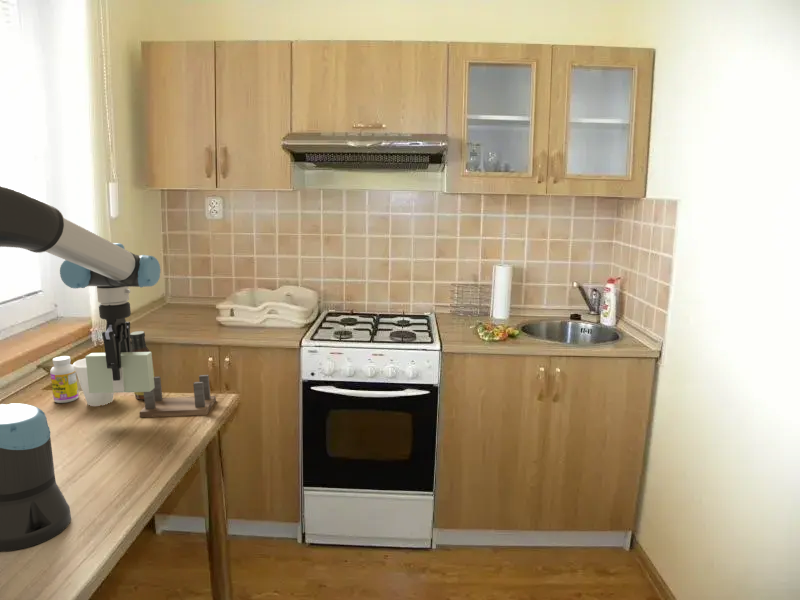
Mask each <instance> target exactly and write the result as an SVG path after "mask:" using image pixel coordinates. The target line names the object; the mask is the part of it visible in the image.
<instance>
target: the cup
mask: <svg viewBox="0 0 800 600" xmlns="http://www.w3.org/2000/svg"><path fill="white" fill-rule="evenodd" d="M72 365H73V366H74V369H75V372H76V378H77V381H78V382H79V385H80V388H81V390H82V393H83V396H84V398H85V401H86V403H87V406H89V405H90V407H100V405H102V406H106V405H108V403H109V404H110V402H111V403H112V402H113V401H114V395H115V394H114V393H115V392H111V393H89V385H88V376H87V366H86V357H84V358H82V359H81V358H80V359H78V360H76V361H74V362H73V364H72ZM105 404H106V405H105Z"/></svg>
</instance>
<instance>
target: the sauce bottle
mask: <svg viewBox="0 0 800 600" xmlns="http://www.w3.org/2000/svg"><path fill="white" fill-rule="evenodd" d="M145 337H146V333H145V331H143V330H139V331H138V330H137V331H132V332H130V340H131V352H151V351H150V350H149V348H148V347H147V345H146V344H147V343H146V338H145ZM152 363H153V364H154V362H153V361H152ZM153 374H154V377H156V376H155V370H154V368H153ZM133 393H134V395H135V399H137V400H142V401H143V400H144V392H133ZM144 401H145V400H144Z"/></svg>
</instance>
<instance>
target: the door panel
mask: <svg viewBox="0 0 800 600" xmlns="http://www.w3.org/2000/svg"><path fill="white" fill-rule="evenodd" d="M85 358H86V366H87V376H88V385H89V393H111V392H113V382H112V372H111V368H109V369H108V368H107V363H106V355H105V352H91V353H88V354H87V355H85ZM152 362H153V352H152V351H150V352H121V367H123V376H124V387H125V391H124V392H123V393H134V392H150V391H151V390H153V389H154V388H155V386H154V376H155V373H154V374H153V369H154V362H153V363H152Z"/></svg>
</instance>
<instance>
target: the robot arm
mask: <svg viewBox="0 0 800 600" xmlns="http://www.w3.org/2000/svg"><path fill="white" fill-rule="evenodd" d="M3 247H5V248H17V249H23V250H26V251H30V252H32V253H38V254H42V253H45V252H46V253H48V254H50V255H53V256H55V257H56V258H57V257H58V258H59V259H62V260H64V261H62V263H61V265H60V267H59V276H60V278H61V281H62V282H63V284H64V285H66V287H69V288H70V289H85V288H86V287H96V293H97V295H96V296H97V302H98V303H99V305H98V313H99V314H98V315H99V318H100V319H101V320H106V324H105V325H106V327H105V331H102V332H101V336H102V339H103V344H104V345H103V346H104V353H105V355H106V363H107V368H108V369H109V368H111V372H112V382H113V392H114V393H125V392H124V391H125V387H124V376H123V367H121V352H131V350H132V342H131V338H130V333H131V321H127V320H126V319H127V318H129V317H131V315H132V311H131V310H132V309H131V304H130V302H129V300H130V294H131V289H129V287H130V288H131V287H133V288H136V287H137V288H138V287H139V288H144V287H147V288H149V287H153V286H155V285H156V284H157V283H158V282H159V280H160V278H161V265H160V262H159V260H158V259H157V258H156V257H155V256H153V255H148V254H147V255H146V254H140V255H138V254H135V253H133V252H131V251H129V250H127V249H125V245H124V244H123V243H121V242H111V241H109V240H108V239H106V238H103V237H101V236H100V235H98V234H96V233H93V232H92V231H90V230H88V229H86V228H84V227H82V226H80V225H78V224H76V223H74V222H72V221H71V220H69V219H67V218H64V215H63V214H62V211H61V210H59V209H58V208H56V207H54V205H51V204H49V203H48V202H45V201H43V200H41V199H39V198H36V197H34V196H32V195H30V194H28V193H25V192H23V191H20V190H17V189H14V188H12V187H9V186H5V185H1V184H0V248H3ZM54 465H55V464H54V457H53V448H52V438H51V429H50V426H49V423H48V419H47V415H46V414H45V412H44V411H43V410H42V409H41V408H40V407H37V406H34V405H32V404H27V403H19V402H18V403H15V402H13V403H11V402H10V403H9V404H5V403H1V404H0V552H5V551H6V552H7V551H17V550H21V549H26V548H30V547H33V546H37V545H38V544H41V543H44V542H46V541H49V540H50V539H52V538H54V537H55V536H57V535H59V534H60V533H62V532H63V531H64V530H65V529H66V528H67V527H68V526H69V525H70V523H71V520H72V516H71V508H70V505H69V503H68V501H67V500H66V498H65V496H64V494H63V493H62V490H61V489H60V487H59V486H58V483H57V482H56V474H55V466H54Z"/></svg>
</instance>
